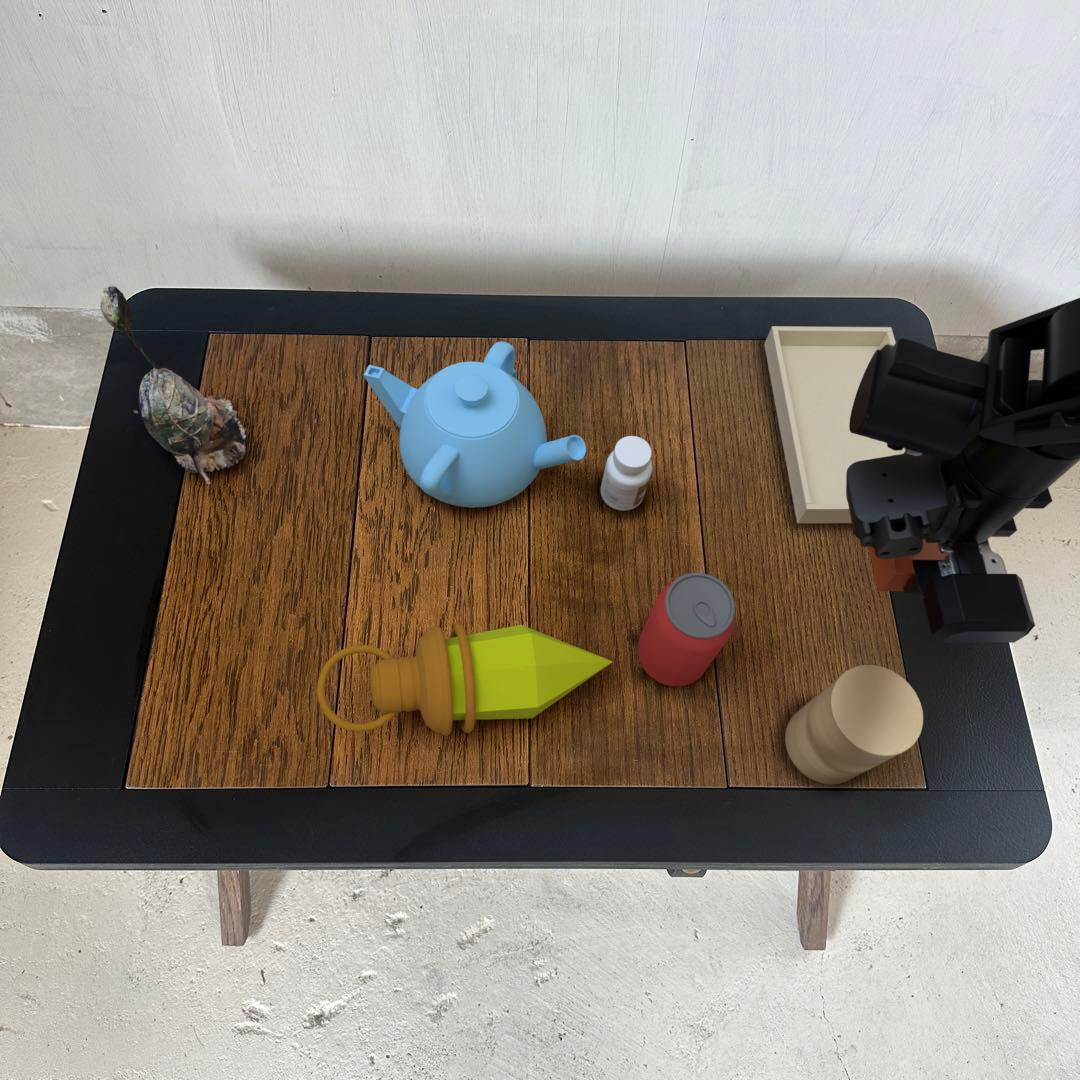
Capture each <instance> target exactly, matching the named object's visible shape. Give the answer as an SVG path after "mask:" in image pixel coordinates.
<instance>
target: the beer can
mask: <svg viewBox="0 0 1080 1080" xmlns="http://www.w3.org/2000/svg"><path fill="white" fill-rule="evenodd" d="M735 612H736V604H735V598H734V597H733V594H732V592H731V589H729V588H728V586H727V585H726V584H725V583H724V582H723V581H721V580H720V579H719V578H717V577H716V576H714V575H711V574H709V573H705V572H689V573H686V574H682V575H680V576H679V577H677V578H676V579H674V580H672V582H670V583H669V584H666V586H665V587H663V588H662V590H661V591H660V593H659V594H658V596H657V597H656V599H655V601H654V603H653V606H652V608H651V611H650V613H649V615H648V617H647V620H646V622H645V624H644V626H643V628H642V631H641V633H640V636H639V639H638V643H637V657H638V660H639V663H640V665H641V667H642V669H643V670H644V671H645V672H646V673H647V675H648V676H649V677H650V678H651V679H653V680H654V681H656V682H658V683H659V684H663V685H665V686H669V687H684V686H687V685H691V684H693V683H695V682H696V681H697V680H698V679H700V678H702V676H704V674H705V673H706V671H707V670H708V668H709V667H710V665H711V664H712V663H713V661H714V660H715V658H716V657H717V655H718V654H719V653H720V651H721V650H722V649H723V647H724V646H725V645H726V643H727V641H728V640H729V638H730V637H731V635H732V634H733V631H734V628H735V622H736V613H735Z"/></svg>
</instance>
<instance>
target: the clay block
mask: <svg viewBox="0 0 1080 1080" xmlns="http://www.w3.org/2000/svg"><path fill="white" fill-rule="evenodd" d="M868 551H869V555H870V560H871V564H872V565H871V566H872V570H873V575H874V579H875V585H876V588H877V589H876V590H877V592H904V590H903V587H904V586H905V584H906V583H907V581H908V580H909V579H910V578H911V577H912V576H913V575H914V574H915V572H914V568H913V564H912V560H945V557H946V556H947V555H948V554H942V553H941V552H940V551H939V547H938V543H926V541H925V539H923V548H922V551H921V552H920V553H918V554H916V555H912V556H905V557H897V558H890V559H880V558H877V557H876V554H875V550H874V548H872V547H868Z"/></svg>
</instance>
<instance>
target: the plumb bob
mask: <svg viewBox="0 0 1080 1080" xmlns="http://www.w3.org/2000/svg"><path fill="white" fill-rule="evenodd" d="M360 653H361V654H370V655H374V656H376V657H379V658H380V659H377V661H376V663H375V664H374V665H373V666H372V668H371V670H370V677H369V678H370V693H371V701H372V703H373V706H374V708H375V709H376V710H377V711H379V712H380V713H381V715H382V716H380V717H379V718H377V719H375V720H373V721H370V722H366V723H355V722H350V721H347V720H345V719H343V718H341V717H340V716H339V715H337V714H336V713H335V711H333V710H332V708H331V707H330V705H329V703H328V699H327V695H326V684H327V679H328V677H329V674H330V672H331V670H332V669H333V668H334V667H335V665H336V664H338V662H339V661H341V660H343V659H344V658H346V657H348V656H350V655H354V654H360ZM613 663H614V661H612V660H610V659H608V658H605V657H603V656H600V655H598V654H595V653H593V652H590V651H588V650H586V649H583V648H581V647H578V646H575V645H573V644H570V643H568V642H565V641H563V640H560V639H558V638H555V637H552V636H550V635H548V634H545V633H543V632H541V631H537V630H535V629H533V628H530V627H527V626H525V625H523V624H518V625H513V626H508V627H503V628H497V629H492V630H487V631H481V632H476V633H471V634H470V633H469V634H467V631H466V628H465V626H464V625H462V624H461V623H456V624H454V625H453V626H452V628H451V635H450V637H449V638H446V637H445V633H444V631H443V628H442V627H440V625H434V626H432V628H430V629H428V630H426V631H425V632H424V633H423V634H422V636H421V637H420V638H419V639H418V641H417V644H416V649H415V655H414V656H412V657H411V656H403V657H402V656H401V657H400V658H397V657H393V656H392V655H391V654H389V653H388V652H387V651H385V650H383V649H382V648H379V647H376V646H373V645H370V644H369V645H368V644H356V645H351V646H348V647H345V648H343V649H341V650H339V651H337V652H336V653H335V654H334V655H332V656H331V657H330V658H329V659H328V660H327V661H326V663H325V664H324V666H323V667H322V669H321V671H320V673H319V676H318V680H317V683H316V684H317V685H316V694H317V700H318V704H319V707H320V709H321V711H322V713H323V714H324V715H325V717H326V718H327V719H328V720H329V722H331V723H332V724H334V725H335V726H337V727H339V728H341V729H342V730H346V731H349V732H356V733H362V732H363V733H364V732H369V731H373V730H376V729H378V728H381V727H383V726H384V725H385V724H386V723H388V722H389V721H391V720H392V718H394V716H395V715H396V714H397V713H398V714H399V713H402V712H403V711H404V712H413V711H415V710H418V711H420V714H421V717H422V719H423V722H424V723H425V725H426V727H428V728H429V729H430V730H432V731H433V732H435V733H437V734H441V735H442V736H445V737H447V736H449V735H450V734H451V733H452V731H453V721H458V722H459V725H460V728H461V730H462V731H463V732H464V733H466V734H469V733H472V732H473V730H474V728H475V724H476V720H513V719H514V720H515V719H518V720H519V719H534V718H535V717H537V716H538V715H539V714H541V713H542V712H544V711H545V710H546V709H548V708H549V707H551V706H552V705H553V704H555V703H556V702H558V701H559V700H560V699H563V698H564V697H565V696H567V695H568V694H569V693H570V692H572V691H573V690H575V689H577V688H578V687H579V686H581V685H583V684H584V683H585V682H586V681H588V680H589V679H591V678H593V677H594V676H595V675H596V674H598V673H600V672H601V671H602V670H604V669H606V668H607V667H608V666H610V665H611V664H613Z"/></svg>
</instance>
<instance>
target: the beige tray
mask: <svg viewBox="0 0 1080 1080" xmlns="http://www.w3.org/2000/svg"><path fill="white" fill-rule="evenodd" d="M896 342H897V341H896V339H895V336H894V332H893V328H892V327H891V326H799V325H798V326H796V325H795V326H794V325H793V326H790V325H787V326H783V325H781V326H779V325H773V326H771V328H770V330H769V332H768V334H767V337H766V339H765V342H764V344H763V345H764V351H765V355H766V361H767V366H768V372H769V373H768V374H769V378H770V383H771V388H772V389H771V390H772V393H773V400H774V404H775V405H774V406H775V410H776V415H777V416H776V417H777V421H778V422H777V423H778V427H779V432H780V437H781V443H782V450H783V453H784V461H785V465H786V470H787V476H788V481H789V486H790V487H789V488H790V493H791V497H792V504H793V509H794V513H795V514H794V515H795V519H796V524H852V521H851V516H850V511H849V506H848V502H847V497H846V474H847V469H848V468H849V466H850V465H851V464H853V463H855V462H857V461H862V460H868V459H875V458H881V457H887V456H893V455H899V454H903V453H904V452H905V448H903V449H902V450H892V449H890V448H888V446H887V443H885V442H882V441H878V440H875V439H871V438H868V437H864V436H861V435H857V434H854V433H851V432H850V428H849V423H850V416H851V411H852V407H853V403H854V400H855V396H856V393H857V390H858V388H859V385H860V382H861V380H862V377H863V375H864V373H865V370H866V368H867V366H868V364H869V362H870V360H871V358H872V357H873V355H874V353H875V352H876V350H877V349H878V350H881V349H882V348H883V347H884V346H885V345H886V344H890V345H893V346H894V345H895V343H896Z"/></svg>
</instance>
